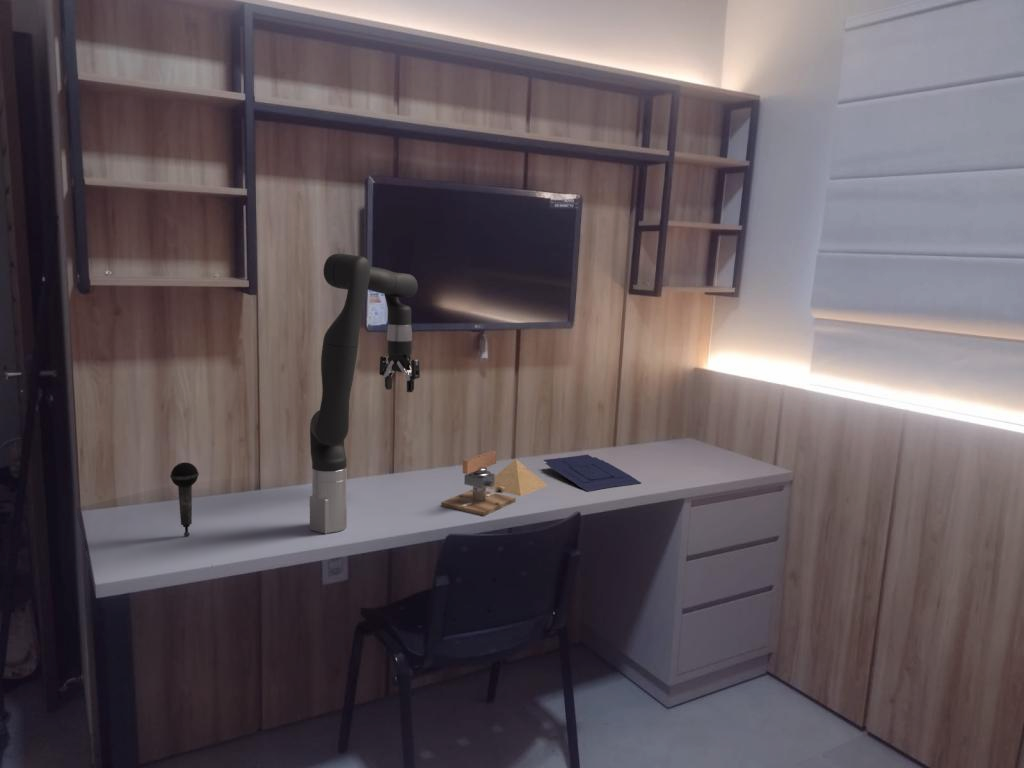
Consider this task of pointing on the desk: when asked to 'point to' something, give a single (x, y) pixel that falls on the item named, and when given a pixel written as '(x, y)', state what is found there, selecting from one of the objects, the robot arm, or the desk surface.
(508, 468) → the model pyramid
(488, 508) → the post base
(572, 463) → the dark blue flat panel
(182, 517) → the microphone
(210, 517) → the desk surface
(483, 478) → the lever handle
